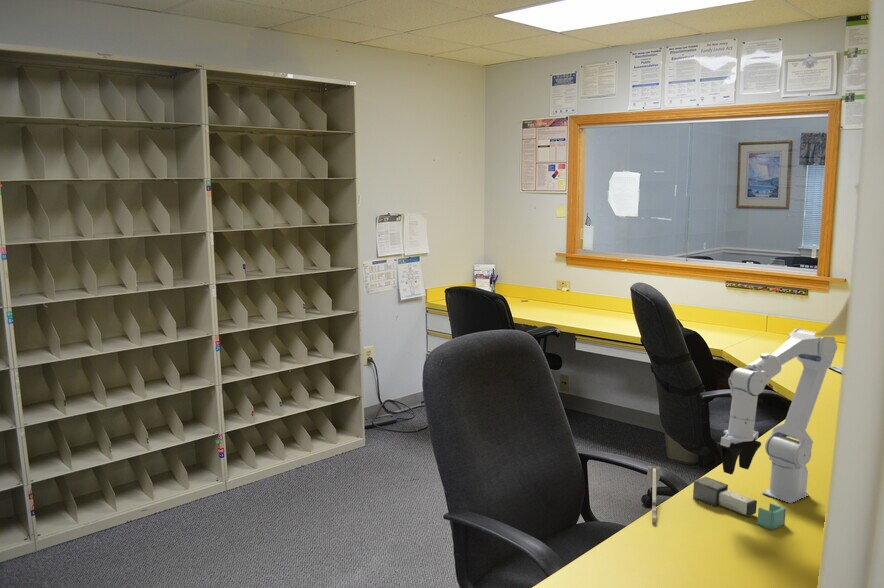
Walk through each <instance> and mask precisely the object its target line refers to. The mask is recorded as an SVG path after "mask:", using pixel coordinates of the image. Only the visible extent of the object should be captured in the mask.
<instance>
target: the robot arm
mask: <svg viewBox="0 0 884 588" xmlns="http://www.w3.org/2000/svg"><path fill="white" fill-rule="evenodd" d="M816 332H817V331H814V330H813V331H812V330H807V329H803V328H800V327H799V328H795V329H793V330H792V332H791V331H790V332H789V333H788V335H787V340H786V341H785V342H784V343H783V344H781V345H780V347H778V348H777V349H776V350H774V351H773V353H764V352H763V353H762V354H760V356H759V357H758V358H756V359H755V360H753V361H752V362H750V363H749V364H747V365H746V366H745V367H737V368H735V369H733V371H731V373H730V375H729V377H728V385H729V388H730V396H731V403H730V404H731V405H730V411H729V413H730V414H729V422H728V428H727V429H725V430H723V434H725V435H724V436H721V438H720V441H718V442H717V443H716V448H717V449H718V452H719V455H720V458H721V462H722V468H723V469H722V470H723V473H725V474H729V475H733V474H734V472H735V469H736V464H737V461H738V467H739V468H741V469H744V470H749V468H750V466H751V464H752V461H753V459H754V457H755V455H756V453H757V451H758V450H759V448H760V447H761V446H762V442H761V441H759V435H760V434H759V431H757V430H755V425H756V414H757V406H758V397H759V395H760V394H762V393H763V392H764V390H765V387H766V385H768V382H769V381H770V380H772V379H773V378H774V377H776V376H777V375H778V374H779V373H781V371H782V366H783V365H785V364H786V363H788V362H789V361H792V360H793V359H794V358H796V359H797V360H798V362H800V363H801V365H802V366H803V369H802V372H801V375H800V378H799V381H798V383H797V386H796V389H795V392H794V395H793V398H792V400H791V403H790V406H789V408H788V411H787V414H786V417H785V419H784V422H783V423H781V424H780V425H777V426H775V427H773V429H772V432H771V433H770V435H769V436H768V438H767V439H766V441H765V443H764V445H765V446H764V449H765V453H766V454H767V456H768V459H769V460H770V461H771V464H770V465H771V466H770V477H769V488H767V489H765V490H763V491H762V493H761V494H763V495H766V496H768V497H770V498H773V497H774V499H776V498H777V499H776V500H779V499H780V500H779V501H782V500H783V501H782V502H784V501H785V503H787V502H788V504H793V502H794V503H796V502H798V501H800V500H799V499H801V498H803V499H805V498H806V497H805V496H807V495H809V494H810V493H809V492H807V489H808V476H809V470H808V468H807V466H806V465H807V464H808V463H809V462H810V461H811V458H812V449H813V443H814V441H813V440H812V438H811V436H810V435H809V433H808V432H807V429H808V426H809V422H810V419H811V418H812V417H811V416H812V414H813V411H814V408H815V405H816V402H817V399H818V396H819V394H820V391H821V389H822V385H823V382H824V380H825V377H826V374H827V370H828V369H829V368H831V366H832V363H833V361H834V359H835V356H836V355H835V354H836V352H837V350H838V344H837V341H836V338H835V336H834V337H815V336H814V335H815V333H816ZM736 444H737V446H738V447H737V446H735V445H736ZM805 494H806V495H805ZM804 497H805V498H804ZM797 500H798V501H797ZM801 500H802V499H801ZM795 501H796V502H795Z"/></svg>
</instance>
